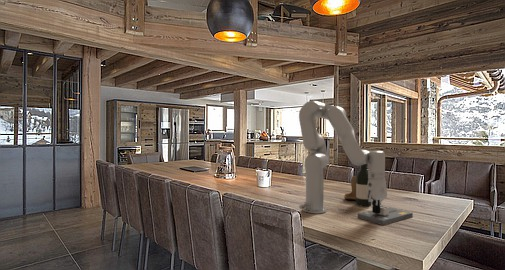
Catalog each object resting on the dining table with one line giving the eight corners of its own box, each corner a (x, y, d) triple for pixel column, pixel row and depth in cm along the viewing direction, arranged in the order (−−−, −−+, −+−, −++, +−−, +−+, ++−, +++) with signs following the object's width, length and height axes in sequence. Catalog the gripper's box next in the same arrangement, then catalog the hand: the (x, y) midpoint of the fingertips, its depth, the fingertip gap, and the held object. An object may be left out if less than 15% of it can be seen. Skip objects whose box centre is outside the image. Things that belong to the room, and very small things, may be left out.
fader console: (383, 225, 138) (383, 220, 138) (357, 217, 150) (357, 213, 150) (412, 216, 152) (412, 212, 152) (387, 210, 164) (387, 206, 164)
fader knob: (384, 215, 145) (384, 207, 145) (373, 212, 150) (373, 205, 150) (389, 214, 147) (389, 206, 147) (378, 211, 153) (378, 204, 152)
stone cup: (368, 198, 193) (369, 175, 193) (370, 202, 181) (370, 178, 181) (344, 196, 197) (344, 174, 197) (344, 200, 186) (344, 176, 186)
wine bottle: (361, 207, 171) (362, 154, 170) (353, 203, 179) (353, 153, 178) (374, 206, 173) (374, 154, 172) (365, 202, 181) (365, 153, 181)
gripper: (373, 178, 139) (373, 217, 139) (392, 175, 147) (392, 212, 147) (360, 176, 146) (359, 213, 146) (379, 173, 154) (378, 209, 154)
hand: (376, 212), depth 147 cm, fingers closed
